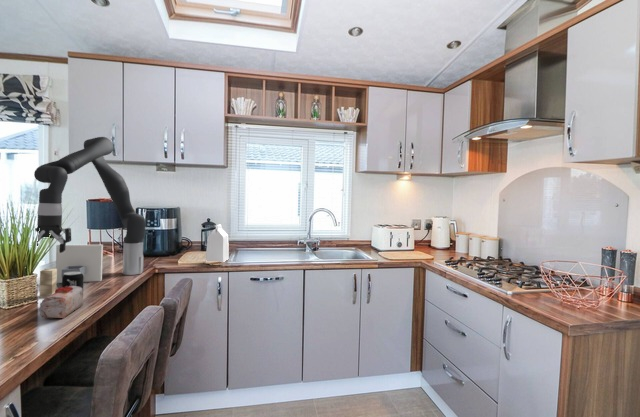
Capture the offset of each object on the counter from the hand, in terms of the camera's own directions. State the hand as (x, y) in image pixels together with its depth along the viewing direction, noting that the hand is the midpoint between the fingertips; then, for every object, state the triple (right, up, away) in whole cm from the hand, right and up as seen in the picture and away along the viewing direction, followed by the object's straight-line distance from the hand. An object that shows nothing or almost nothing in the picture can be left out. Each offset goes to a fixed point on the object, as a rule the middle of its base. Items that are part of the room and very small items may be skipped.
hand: (48, 252), depth 124 cm
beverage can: (+14, -19, -5) cm, 25 cm away
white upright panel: (-3, -18, +17) cm, 25 cm away
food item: (+20, -20, -16) cm, 33 cm away
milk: (+45, -19, +75) cm, 89 cm away
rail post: (-1, -18, 0) cm, 18 cm away
